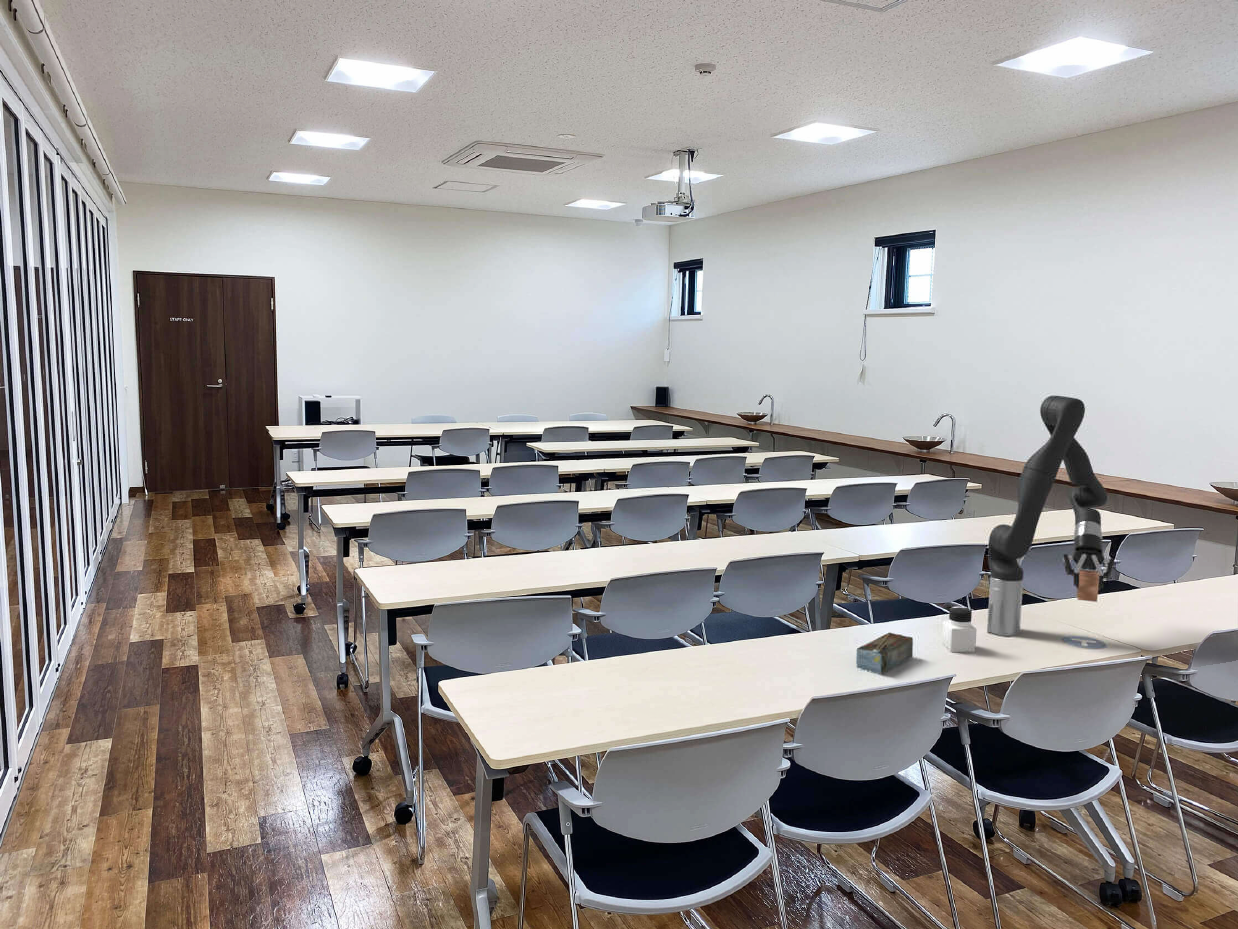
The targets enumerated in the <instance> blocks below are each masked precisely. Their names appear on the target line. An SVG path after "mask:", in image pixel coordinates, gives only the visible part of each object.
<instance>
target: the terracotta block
mask: <svg viewBox="0 0 1238 929" xmlns="http://www.w3.org/2000/svg"><path fill="white" fill-rule="evenodd" d="M1098 585H1099V573H1098V572H1097V571H1093V570H1089V569H1082V570H1080V571H1079V588H1076V594H1075V595H1076V598H1077V600H1078V601H1085V602H1086V601H1087V602H1093V603H1094V602H1095V603H1097V602H1098V597H1099V596H1098V595H1099V590H1098Z"/></svg>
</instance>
